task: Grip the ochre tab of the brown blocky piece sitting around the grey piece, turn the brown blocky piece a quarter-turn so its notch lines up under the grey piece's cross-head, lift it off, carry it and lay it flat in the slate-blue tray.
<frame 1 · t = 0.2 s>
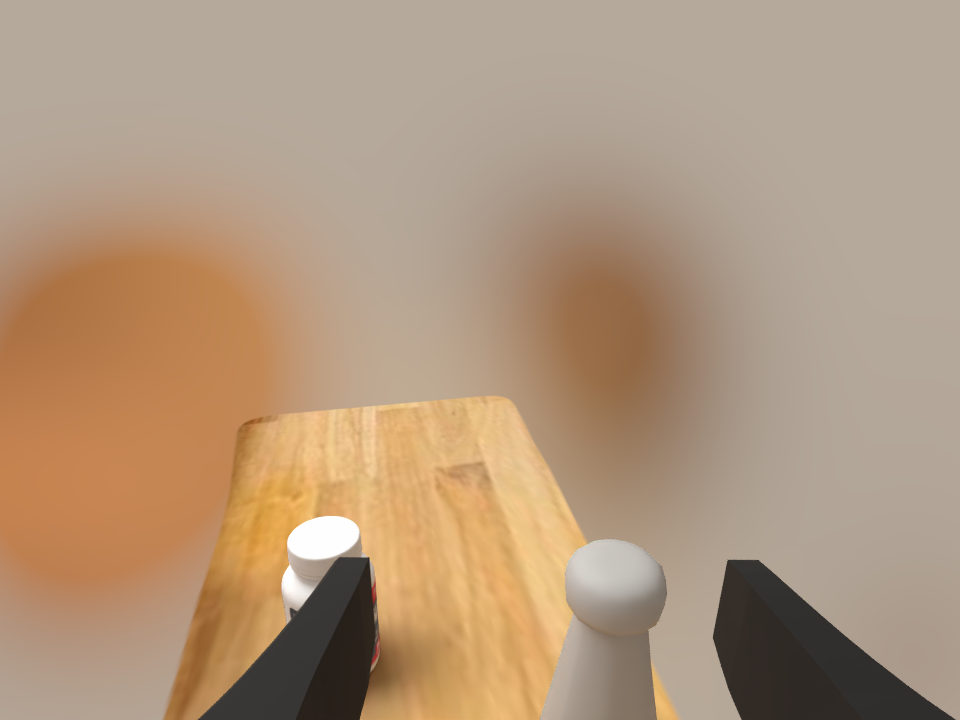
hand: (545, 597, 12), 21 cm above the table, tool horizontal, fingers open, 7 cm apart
pill bottle: (337, 660, 38), on the table
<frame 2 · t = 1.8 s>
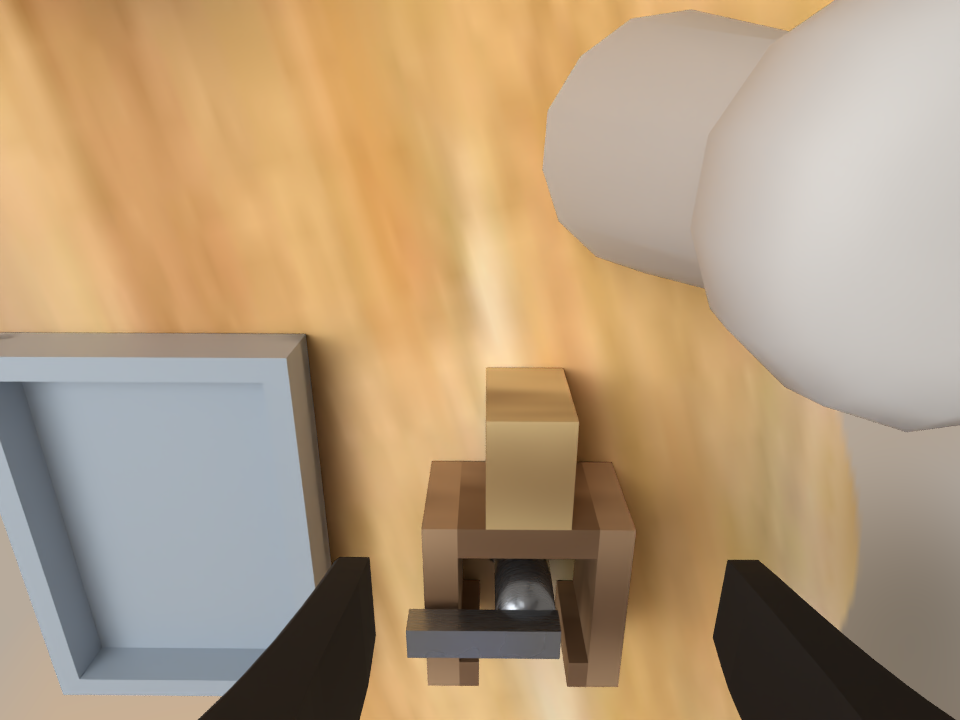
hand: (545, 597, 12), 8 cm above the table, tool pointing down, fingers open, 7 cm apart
brown blocky piece: (519, 535, 22), on the table
tray: (188, 509, 21), on the table
salt shaker: (639, 144, 17), on the table
grey piece: (519, 535, 22), on the table
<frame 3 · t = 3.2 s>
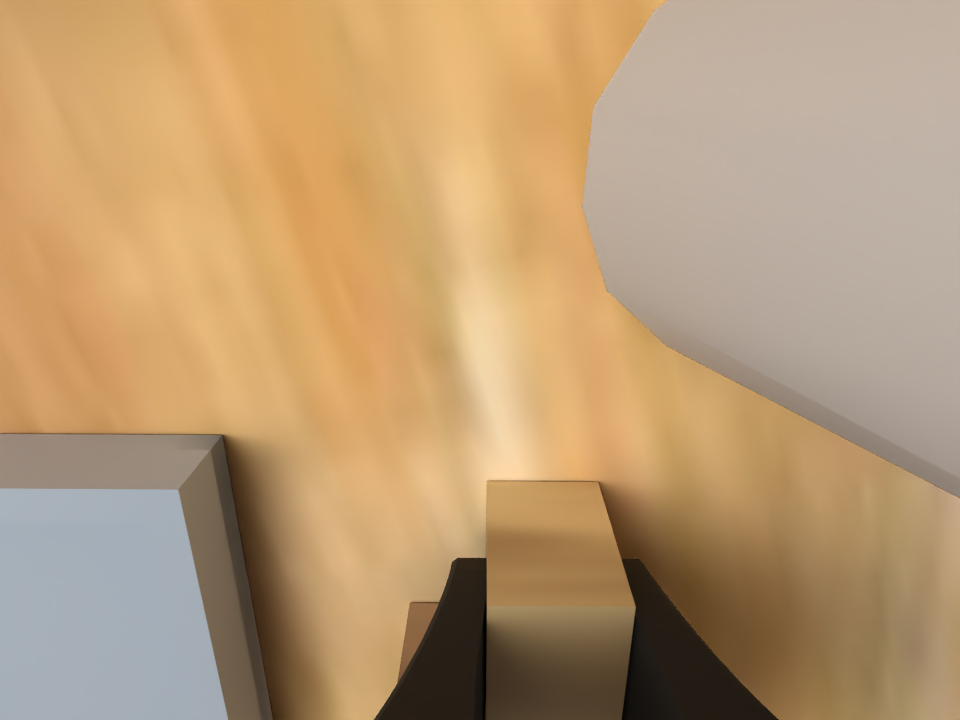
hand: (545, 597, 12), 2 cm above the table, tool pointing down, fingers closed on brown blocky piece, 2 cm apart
brown blocky piece: (532, 695, 16), on the table, touching gripper
tray: (73, 662, 15), on the table
salt shaker: (724, 160, 11), on the table
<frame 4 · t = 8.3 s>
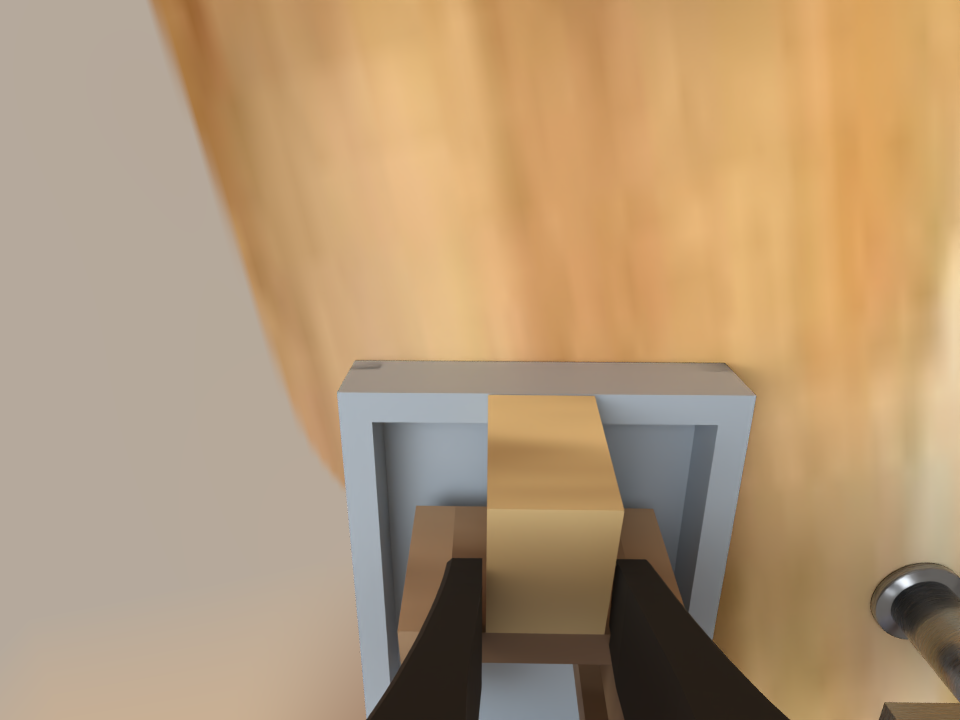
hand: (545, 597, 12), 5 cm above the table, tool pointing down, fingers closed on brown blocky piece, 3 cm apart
brown blocky piece: (529, 587, 17), point 1 cm above the table, tilted 9°, touching gripper, tray
tray: (531, 566, 18), on the table
grey piece: (915, 598, 18), on the table
when the fingers open (4 cm above the table, at t = 9.9 s): brown blocky piece moves 3 cm, resting on tray.
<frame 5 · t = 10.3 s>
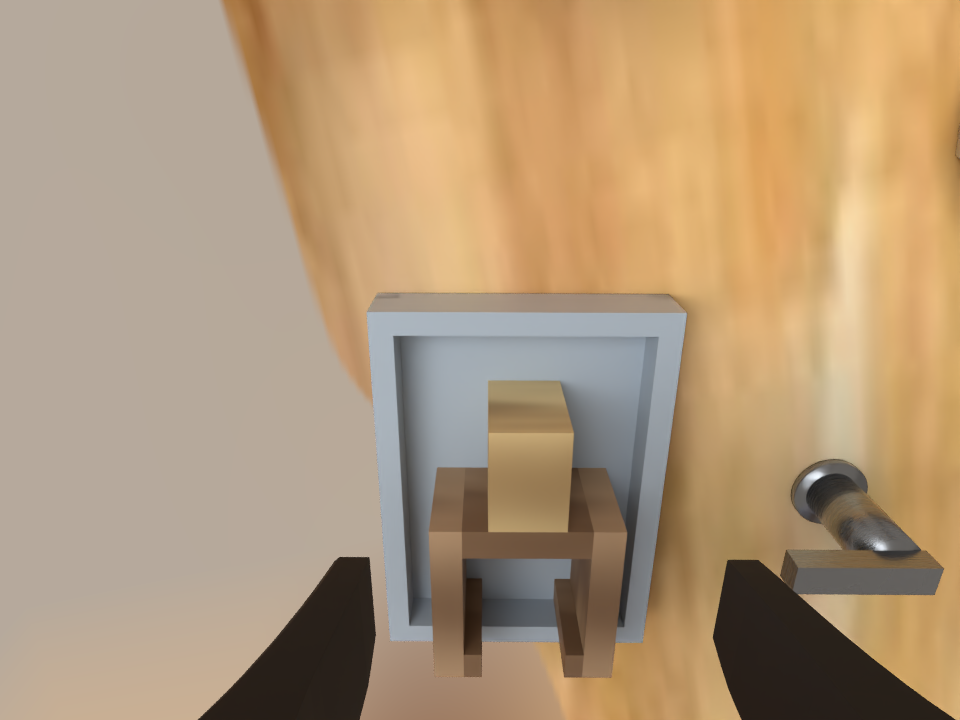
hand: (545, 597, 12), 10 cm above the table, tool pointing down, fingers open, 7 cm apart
brown blocky piece: (519, 536, 23), point 1 cm above the table, touching tray
tray: (517, 464, 23), on the table
grey piece: (826, 489, 23), on the table
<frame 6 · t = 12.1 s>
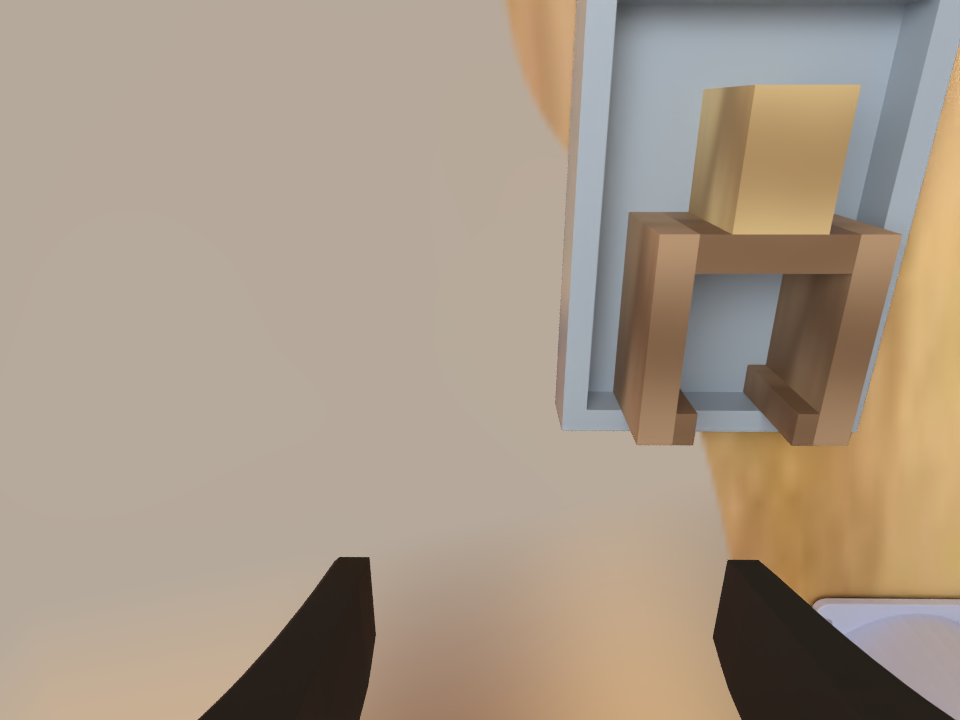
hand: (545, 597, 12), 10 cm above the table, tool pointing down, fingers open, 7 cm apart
brown blocky piece: (714, 306, 20), point 1 cm above the table, touching tray
tray: (717, 217, 19), on the table
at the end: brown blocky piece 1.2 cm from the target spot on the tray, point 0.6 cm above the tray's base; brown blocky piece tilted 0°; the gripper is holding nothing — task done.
